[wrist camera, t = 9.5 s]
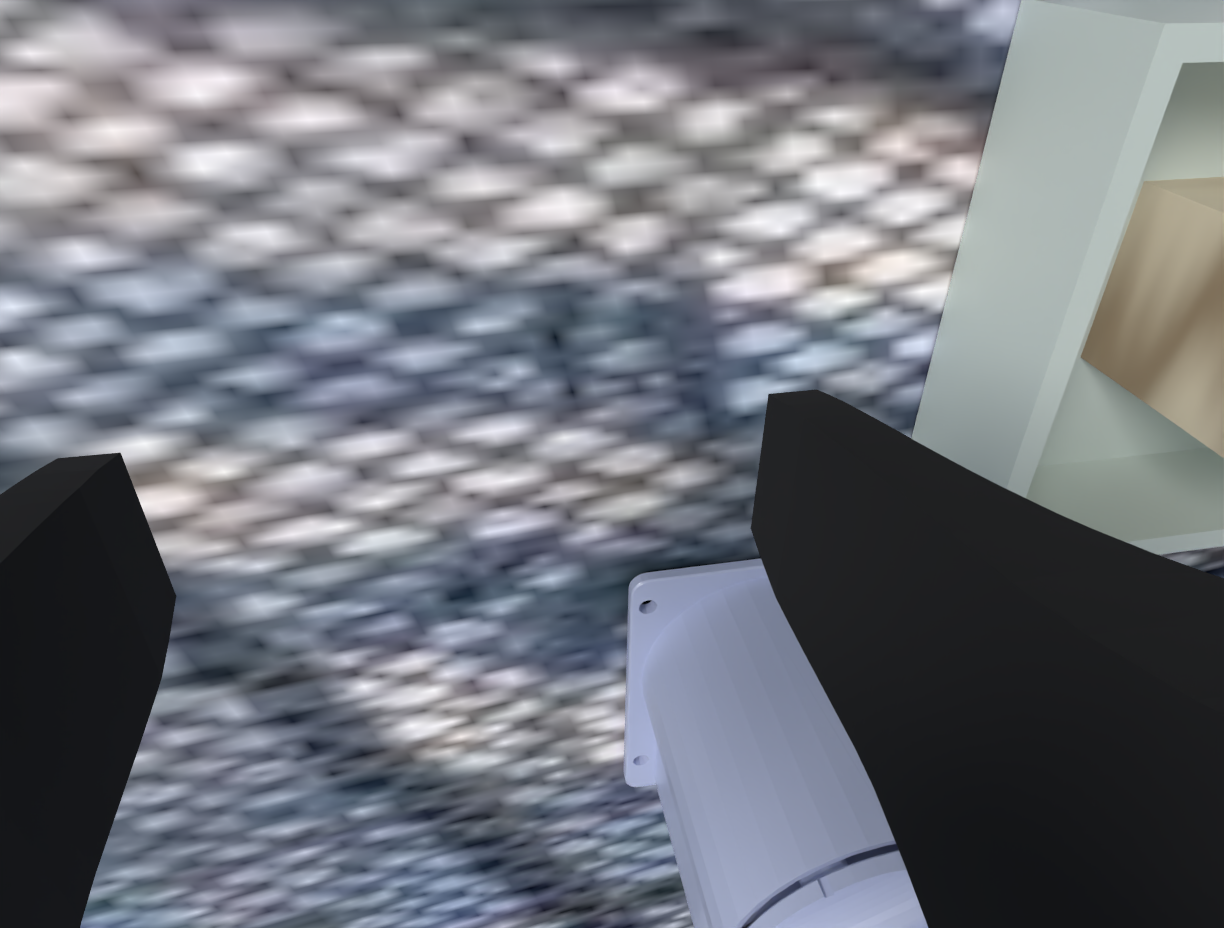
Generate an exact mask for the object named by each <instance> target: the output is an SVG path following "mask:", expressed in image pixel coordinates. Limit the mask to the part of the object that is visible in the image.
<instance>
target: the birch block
mask: <svg viewBox="0 0 1224 928" xmlns="http://www.w3.org/2000/svg"><path fill="white" fill-rule="evenodd" d="M1081 358H1082V359H1084V360H1085V361H1086V362H1088V363H1089V364H1091V365H1092V366H1094V367H1095V368H1096V369H1098V370H1099V371H1101V372H1102V373H1104V374H1105V375H1106V376H1108V377H1109V378H1111V379H1112V380H1113V381H1115V382H1116V383H1118V384H1119V385H1121V386H1122V387H1123V388H1125V389H1126V390H1128V391H1129V392H1130V393H1132V394H1133V395H1135V396H1136V397H1138V398H1139V399H1140V400H1142V401H1143V402H1145V403H1146V404H1148V405H1149V406H1150V407H1152V408H1153V409H1155V410H1156V411H1157V412H1159V413H1160V414H1162V415H1163V416H1165V417H1166V418H1167V419H1169V420H1170V421H1172V422H1173V423H1174V424H1176V425H1177V426H1179V427H1180V428H1182V429H1183V430H1184V431H1186V432H1187V433H1189V434H1190V435H1191V436H1193V437H1194V438H1196V439H1197V440H1199V441H1200V442H1201V443H1203V444H1204V445H1206V446H1207V447H1209V448H1210V449H1211V450H1213V451H1214V452H1216V453H1217V454H1218V455H1220V456H1221V457H1223V458H1224V177H1210V178H1192V179H1173V180H1155V181H1144V183H1143V185H1142V188H1141V191H1140V194H1139V196H1138V199H1137V202H1136V205H1135V208H1134V210H1133V213H1132V216H1131V219H1130V221H1129V224H1128V227H1127V230H1126V232H1125V235H1124V238H1123V241H1122V244H1121V246H1120V249H1119V252H1118V255H1117V257H1116V260H1115V263H1114V266H1113V268H1112V271H1111V274H1110V277H1109V280H1108V282H1107V285H1106V288H1105V291H1104V293H1103V296H1102V299H1101V302H1100V304H1099V307H1098V310H1097V313H1096V315H1095V318H1094V321H1093V324H1092V327H1091V329H1090V332H1089V335H1088V338H1087V340H1086V343H1085V346H1084V349H1083V351H1082V354H1081Z"/></svg>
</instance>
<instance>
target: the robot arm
mask: <svg viewBox="0 0 1224 928" xmlns="http://www.w3.org/2000/svg"><path fill="white" fill-rule="evenodd" d="M751 530H752V533H753V536H754V539H755V542H756V545H757V548H758V551H759V554H760V557H761V559H753V560H744V561H736V562H728V563H720V564H712V565H704V566H696V567H688V568H680V569H672V570H663V571H655V572H647V573H643V574H640V575H638V576H636V577H635V578H634V579H633V580H632V581H631V582H630V585H629V594H628V631H627V667H626V704H625V740H624V776H625V780H626V783H627V784H628V785H629V786H633V787H642V786H648V785H654V784H656V786H657V790H658V794H659V797H660V801H661V805H662V809H663V812H664V816H665V820H666V824H667V827H668V831H669V835H670V839H671V842H672V846H673V850H674V854H675V857H676V861H677V865H678V869H679V872H680V876H681V880H682V884H683V887H684V891H685V895H686V899H687V902H688V906H689V910H690V914H691V917H692V921H693V925H694V928H1224V578H1221V577H1218V576H1215V575H1212V574H1209V573H1206V572H1203V571H1200V570H1198V569H1195V568H1192V567H1189V566H1186V565H1184V564H1181V563H1178V562H1175V561H1173V560H1170V559H1167V558H1164V557H1162V556H1159V555H1157V554H1154V553H1152V552H1149V551H1147V550H1144V549H1142V548H1139V547H1137V546H1134V545H1132V544H1129V543H1127V542H1124V541H1122V540H1119V539H1117V538H1114V537H1112V536H1109V535H1107V534H1104V533H1102V532H1099V531H1097V530H1094V529H1092V528H1090V527H1087V526H1085V525H1083V524H1080V523H1078V522H1076V521H1074V520H1071V519H1069V518H1067V517H1064V516H1062V515H1060V514H1058V513H1056V512H1054V511H1051V510H1049V509H1047V508H1045V507H1043V506H1041V505H1039V504H1037V503H1035V502H1033V501H1031V500H1029V499H1026V498H1024V497H1022V496H1020V495H1018V494H1016V493H1014V492H1012V491H1010V490H1008V489H1006V488H1004V487H1001V486H999V485H998V484H996V483H994V482H992V481H990V480H988V479H986V478H984V477H982V476H980V475H978V474H976V473H974V472H972V471H970V470H968V469H966V468H965V467H963V466H961V465H959V464H957V463H955V462H953V461H951V460H950V459H948V458H946V457H944V456H942V455H940V454H938V453H937V452H935V451H933V450H931V449H929V448H927V447H926V446H924V445H922V444H920V443H918V442H917V441H915V440H913V439H911V438H909V437H907V436H906V435H904V434H902V433H900V432H898V431H897V430H895V429H893V428H891V427H889V426H888V425H886V424H884V423H882V422H880V421H879V420H877V419H875V418H873V417H871V416H869V415H868V414H866V413H864V412H862V411H860V410H858V409H856V408H855V407H853V406H851V405H849V404H847V403H845V402H843V401H841V400H839V399H837V398H835V397H833V396H831V395H828V394H826V393H824V392H821V391H819V390H808V391H797V392H786V393H775V394H769V395H768V403H767V410H766V418H765V425H764V433H763V441H762V448H761V456H760V463H759V471H758V479H757V486H756V494H755V501H754V509H753V516H752V524H751ZM175 599H176V594H175V592H174V589H173V587H172V584H171V582H170V579H169V576H168V574H167V571H166V569H165V566H164V564H163V561H162V558H161V556H160V553H159V551H158V548H157V546H156V543H155V540H154V538H153V535H152V533H151V530H150V528H149V525H148V522H147V520H146V517H145V515H144V512H143V510H142V507H141V505H140V502H139V499H138V497H137V494H136V492H135V489H134V487H133V484H132V481H131V479H130V476H129V474H128V471H127V469H126V466H125V463H124V461H123V458H122V456H121V453H112V454H101V455H90V456H79V457H68V458H58V459H56V460H54V461H53V462H51V463H49V464H47V465H45V466H44V467H42V468H40V469H39V470H37V471H35V472H34V473H32V474H31V475H29V476H27V477H26V478H24V479H23V480H21V481H20V482H18V483H17V484H15V485H14V486H12V487H11V488H9V489H8V490H7V491H5V492H4V493H2V494H1V495H0V928H80V925H81V921H82V918H83V914H84V911H85V907H86V904H87V901H88V897H89V894H90V890H91V887H92V884H93V880H94V877H95V874H96V871H97V868H98V865H99V862H100V859H101V856H102V853H103V850H104V847H105V844H106V842H107V839H108V836H109V833H110V830H111V827H112V824H113V821H114V818H115V815H116V812H117V809H118V806H119V804H120V801H121V798H122V795H123V792H124V789H125V786H126V783H127V780H128V777H129V774H130V772H131V769H132V766H133V763H134V760H135V757H136V754H137V751H138V748H139V745H140V742H141V739H142V736H143V733H144V730H145V727H146V724H147V721H148V718H149V715H150V712H151V709H152V706H153V703H154V700H155V697H156V694H157V691H158V688H159V684H160V681H161V678H162V673H163V668H164V663H165V658H166V653H167V648H168V643H169V637H170V631H171V624H172V618H173V612H174V606H175ZM647 600H652V601H651V602H650V603H647V604H642V603H643V602H644V601H647Z"/></svg>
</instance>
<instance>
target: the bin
mask: <svg viewBox="0 0 1224 928" xmlns="http://www.w3.org/2000/svg"><path fill="white" fill-rule="evenodd" d="M1210 177H1224V0H1021V4H1020V8H1019V12H1018V16H1017V20H1016V24H1015V28H1014V32H1013V36H1012V40H1011V44H1010V48H1009V52H1008V56H1007V60H1006V64H1005V68H1004V72H1003V76H1002V80H1001V84H1000V88H999V92H998V96H997V100H996V104H995V108H994V112H993V116H992V120H991V124H990V128H989V132H988V136H987V140H986V144H985V148H984V151H983V155H982V159H981V163H980V167H979V171H978V175H977V179H976V183H975V187H974V191H973V195H972V199H971V203H970V207H969V211H968V215H967V219H966V223H965V227H964V231H963V235H962V239H961V243H960V247H959V251H958V255H957V259H956V263H955V267H954V271H953V275H952V279H951V283H950V287H949V291H948V295H947V299H946V303H945V307H944V311H943V315H942V319H941V323H940V327H939V331H938V334H937V338H936V342H935V346H934V350H933V354H932V358H931V362H930V366H929V370H928V374H927V378H926V382H925V386H924V390H923V394H922V398H921V402H920V406H919V410H918V414H917V418H916V422H915V426H914V430H913V434H912V438H911V439H913V440H915V441H917V442H918V443H920V444H922V445H924V446H926V447H927V448H929V449H931V450H933V451H935V452H937V453H938V454H940V455H942V456H944V457H946V458H948V459H950V460H951V461H953V462H955V463H957V464H959V465H961V466H963V467H965V468H966V469H968V470H970V471H972V472H974V473H976V474H978V475H980V476H982V477H984V478H986V479H988V480H990V481H992V482H994V483H996V484H998V485H999V486H1001V487H1004V488H1006V489H1008V490H1010V491H1012V492H1014V493H1016V494H1018V495H1020V496H1022V497H1024V498H1026V499H1029V500H1031V501H1033V502H1035V503H1037V504H1039V505H1041V506H1043V507H1045V508H1047V509H1049V510H1051V511H1054V512H1056V513H1058V514H1060V515H1062V516H1064V517H1067V518H1069V519H1071V520H1074V521H1076V522H1078V523H1080V524H1083V525H1085V526H1087V527H1090V528H1092V529H1094V530H1097V531H1099V532H1102V533H1104V534H1107V535H1109V536H1112V537H1114V538H1117V539H1119V540H1122V541H1124V542H1127V543H1129V544H1132V545H1134V546H1137V547H1139V548H1142V549H1144V550H1147V551H1149V552H1152V553H1154V554H1157V555H1160V554H1168V553H1175V552H1183V551H1190V550H1198V549H1205V548H1213V547H1220V546H1224V458H1223V457H1221V456H1220V455H1218V454H1217V453H1216V452H1214V451H1213V450H1211V449H1210V448H1209V447H1207V446H1206V445H1204V444H1203V443H1201V442H1200V441H1199V440H1197V439H1196V438H1194V437H1193V436H1191V435H1190V434H1189V433H1187V432H1186V431H1184V430H1183V429H1182V428H1180V427H1179V426H1177V425H1176V424H1174V423H1173V422H1172V421H1170V420H1169V419H1167V418H1166V417H1165V416H1163V415H1162V414H1160V413H1159V412H1157V411H1156V410H1155V409H1153V408H1152V407H1150V406H1149V405H1148V404H1146V403H1145V402H1143V401H1142V400H1140V399H1139V398H1138V397H1136V396H1135V395H1133V394H1132V393H1130V392H1129V391H1128V390H1126V389H1125V388H1123V387H1122V386H1121V385H1119V384H1118V383H1116V382H1115V381H1113V380H1112V379H1111V378H1109V377H1108V376H1106V375H1105V374H1104V373H1102V372H1101V371H1099V370H1098V369H1096V368H1095V367H1094V366H1092V365H1091V364H1089V363H1088V362H1086V361H1085V360H1084V359H1082V358H1081V354H1082V351H1083V349H1084V346H1085V343H1086V340H1087V338H1088V335H1089V332H1090V329H1091V327H1092V324H1093V321H1094V318H1095V315H1096V313H1097V310H1098V307H1099V304H1100V302H1101V299H1102V296H1103V293H1104V291H1105V288H1106V285H1107V282H1108V280H1109V277H1110V274H1111V271H1112V268H1113V266H1114V263H1115V260H1116V257H1117V255H1118V252H1119V249H1120V246H1121V244H1122V241H1123V238H1124V235H1125V232H1126V230H1127V227H1128V224H1129V221H1130V219H1131V216H1132V213H1133V210H1134V208H1135V205H1136V202H1137V199H1138V196H1139V194H1140V191H1141V188H1142V185H1143V183H1144V181H1155V180H1173V179H1192V178H1210Z"/></svg>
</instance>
